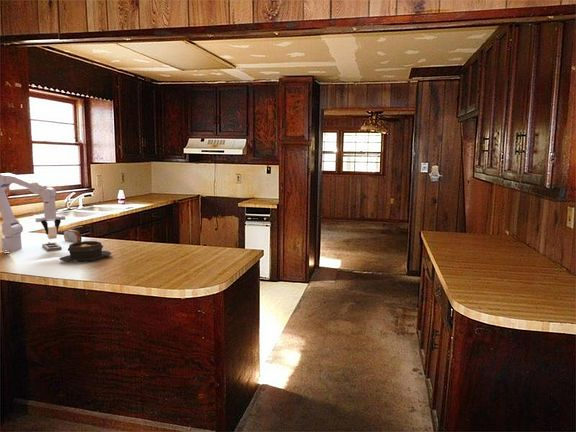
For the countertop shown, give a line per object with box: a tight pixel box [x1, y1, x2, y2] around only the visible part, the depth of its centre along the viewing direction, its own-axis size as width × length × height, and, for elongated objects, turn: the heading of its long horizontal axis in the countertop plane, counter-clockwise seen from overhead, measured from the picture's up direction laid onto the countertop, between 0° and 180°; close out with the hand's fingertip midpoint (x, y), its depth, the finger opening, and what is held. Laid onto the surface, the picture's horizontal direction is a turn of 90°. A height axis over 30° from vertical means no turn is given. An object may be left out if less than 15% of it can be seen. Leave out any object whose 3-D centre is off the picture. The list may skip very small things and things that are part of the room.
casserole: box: [59, 240, 112, 263], centre depth 227 cm, size 25×19×8 cm
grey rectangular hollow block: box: [41, 242, 63, 252], centre depth 246 cm, size 7×15×4 cm, turn 39°
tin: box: [63, 228, 82, 243], centre depth 265 cm, size 15×3×8 cm, turn 58°
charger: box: [46, 225, 58, 240], centre depth 242 cm, size 4×5×7 cm
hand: (51, 233), depth 242 cm, fingers closed on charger, 4 cm apart
